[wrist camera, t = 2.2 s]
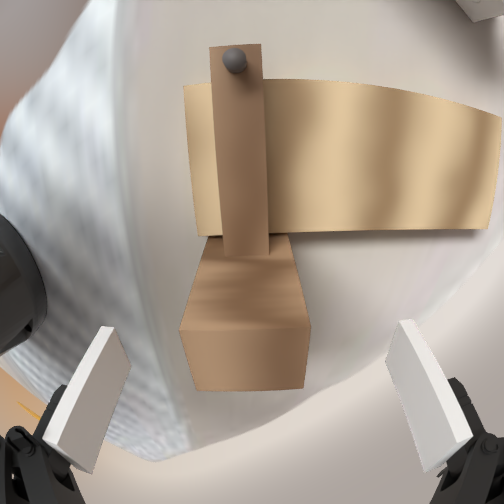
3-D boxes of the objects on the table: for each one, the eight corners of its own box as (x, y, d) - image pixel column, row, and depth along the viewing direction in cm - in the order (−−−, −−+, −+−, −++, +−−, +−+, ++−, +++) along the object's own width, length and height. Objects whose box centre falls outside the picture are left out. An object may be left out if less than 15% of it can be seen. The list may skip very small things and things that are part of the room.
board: (203, 224, 19) (197, 236, 18) (190, 88, 15) (183, 86, 13) (473, 219, 19) (487, 229, 17) (485, 114, 15) (501, 117, 13)
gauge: (216, 279, 21) (196, 390, 12) (197, 64, 14) (137, 15, 6) (285, 276, 21) (303, 388, 12) (280, 59, 14) (313, -1, 5)
